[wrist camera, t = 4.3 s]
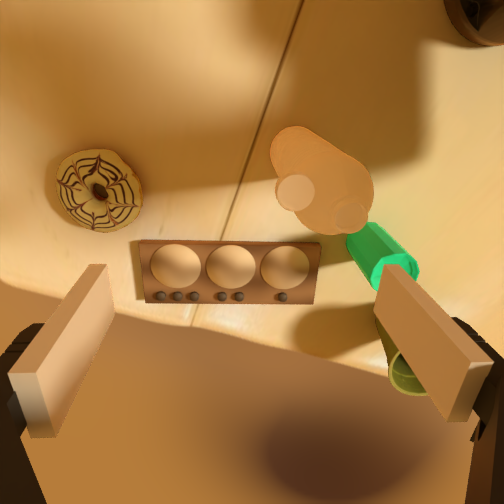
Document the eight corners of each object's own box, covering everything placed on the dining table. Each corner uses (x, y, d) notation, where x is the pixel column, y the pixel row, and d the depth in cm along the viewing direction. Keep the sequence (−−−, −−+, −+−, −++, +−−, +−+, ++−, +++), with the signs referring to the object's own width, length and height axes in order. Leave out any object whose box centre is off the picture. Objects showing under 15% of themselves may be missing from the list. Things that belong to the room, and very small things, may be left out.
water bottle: (327, 138, 45) (421, 195, 22) (303, 183, 47) (365, 275, 25) (267, 108, 43) (303, 136, 20) (245, 156, 45) (256, 229, 23)
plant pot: (373, 353, 61) (400, 406, 51) (352, 304, 56) (378, 352, 46) (438, 329, 60) (480, 379, 49) (423, 276, 55) (466, 319, 45)
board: (141, 238, 50) (137, 245, 48) (319, 242, 51) (322, 248, 49) (147, 297, 54) (144, 305, 52) (311, 299, 56) (313, 306, 54)
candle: (393, 242, 52) (434, 284, 41) (359, 265, 53) (390, 311, 42) (372, 213, 50) (410, 249, 39) (337, 238, 51) (365, 280, 40)
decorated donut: (113, 131, 43) (103, 135, 40) (161, 203, 48) (155, 212, 44) (47, 169, 45) (32, 176, 42) (99, 236, 49) (89, 247, 46)
